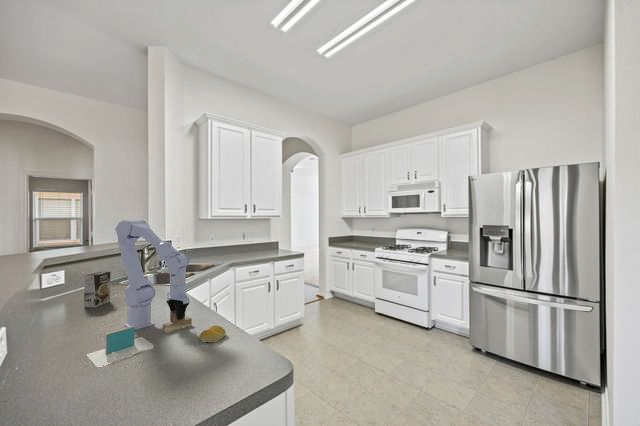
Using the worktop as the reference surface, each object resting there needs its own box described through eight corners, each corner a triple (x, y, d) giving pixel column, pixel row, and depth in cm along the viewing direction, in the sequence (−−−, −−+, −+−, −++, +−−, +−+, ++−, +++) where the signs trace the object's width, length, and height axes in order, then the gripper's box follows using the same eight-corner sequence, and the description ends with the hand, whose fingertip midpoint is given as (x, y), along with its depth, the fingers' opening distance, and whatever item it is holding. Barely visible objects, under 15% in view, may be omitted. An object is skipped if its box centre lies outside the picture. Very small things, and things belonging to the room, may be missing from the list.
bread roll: (194, 341, 97) (194, 330, 97) (213, 332, 105) (213, 321, 106) (212, 346, 94) (212, 334, 94) (229, 335, 102) (229, 325, 102)
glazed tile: (105, 353, 88) (105, 333, 88) (133, 343, 94) (133, 325, 95) (106, 354, 87) (106, 334, 87) (134, 345, 94) (134, 326, 94)
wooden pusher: (162, 331, 105) (162, 313, 105) (187, 323, 113) (187, 306, 113) (166, 334, 103) (166, 315, 103) (192, 325, 111) (192, 308, 111)
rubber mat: (86, 355, 87) (86, 354, 87) (141, 337, 100) (141, 336, 100) (97, 368, 79) (97, 368, 79) (156, 347, 92) (156, 347, 92)
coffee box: (96, 307, 132) (96, 275, 132) (83, 307, 132) (83, 275, 132) (110, 301, 141) (111, 271, 141) (98, 301, 141) (99, 271, 141)
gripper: (159, 283, 109) (159, 316, 109) (176, 289, 101) (176, 325, 101) (177, 280, 115) (176, 311, 115) (194, 285, 106) (194, 319, 106)
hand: (177, 317), depth 108 cm, fingers closed on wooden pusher, 4 cm apart
